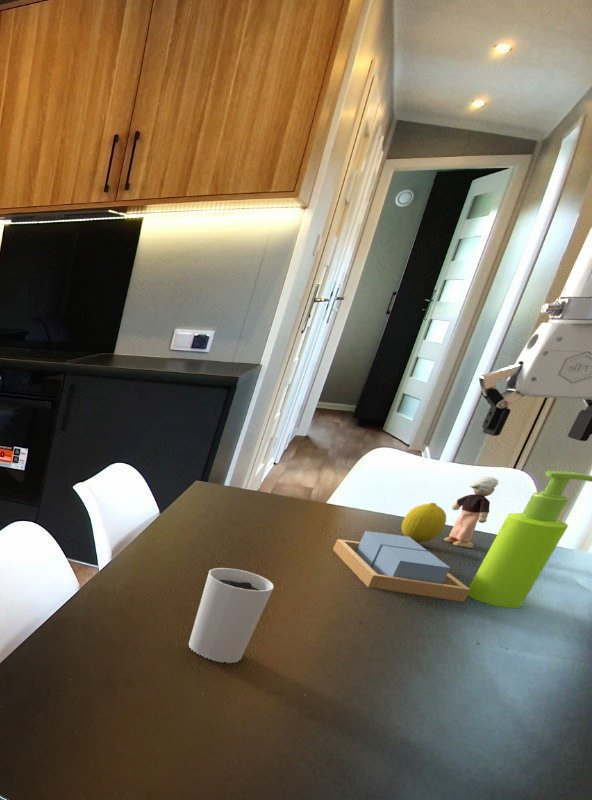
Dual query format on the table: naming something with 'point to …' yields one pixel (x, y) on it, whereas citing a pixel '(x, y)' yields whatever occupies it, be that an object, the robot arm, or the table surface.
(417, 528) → the lemon
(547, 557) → the soap dispenser
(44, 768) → the table surface
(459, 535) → the grandmother figurine
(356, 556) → the wooden tray
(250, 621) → the white cup
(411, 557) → the blue-grey block
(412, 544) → the blue-gray block
